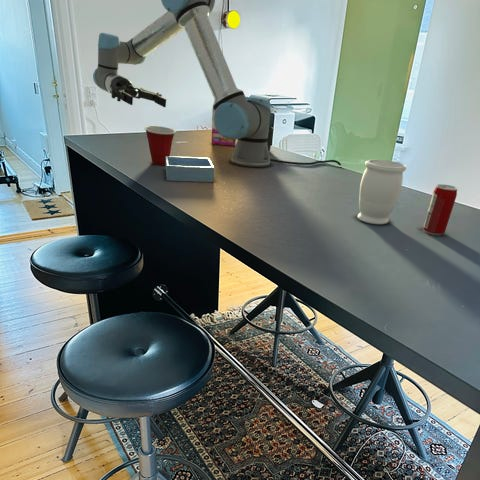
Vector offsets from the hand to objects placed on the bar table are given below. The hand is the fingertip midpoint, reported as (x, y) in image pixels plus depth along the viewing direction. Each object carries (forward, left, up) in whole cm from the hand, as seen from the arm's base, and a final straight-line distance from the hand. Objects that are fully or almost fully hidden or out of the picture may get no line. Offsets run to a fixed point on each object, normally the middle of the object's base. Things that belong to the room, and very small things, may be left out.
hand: (148, 102), depth 157 cm
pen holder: (-49, -28, -20) cm, 60 cm away
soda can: (-73, +77, -20) cm, 107 cm away
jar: (-60, +68, -20) cm, 92 cm away
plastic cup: (-4, +7, -20) cm, 21 cm away
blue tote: (-13, +24, -20) cm, 33 cm away
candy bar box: (-34, -40, -20) cm, 56 cm away
